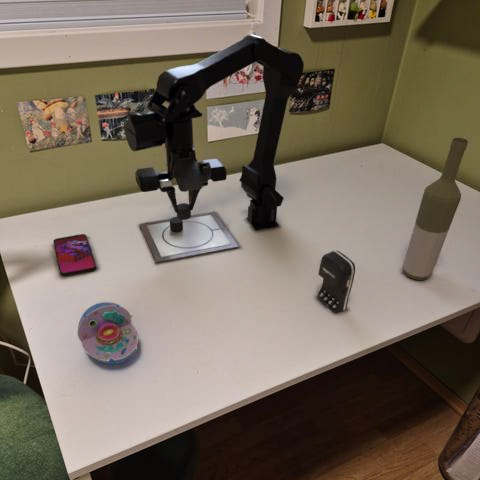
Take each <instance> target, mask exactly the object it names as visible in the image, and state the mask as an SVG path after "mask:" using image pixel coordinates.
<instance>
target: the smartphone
mask: <svg viewBox="0 0 480 480" xmlns="http://www.w3.org/2000/svg"><path fill="white" fill-rule="evenodd" d="M88 239H89V238H88V236H87V234H85V233H81V234H80V233H79V234H74V235H69V236H68V235H67V236H63V237H57V238H55V239H53V247H54V252H55V256H56V259H57V264H58V268H59V274H60V276H62V277H68V276H72V275H77V274H82V273H86V272H87V273H88V272H91V271H92V272H93V271H95V270H96V269H97V265H96V262H95V261H96V260H95V258H94V255H93V251H92V249H91V245H90V242H89V240H88Z"/></svg>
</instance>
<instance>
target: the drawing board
mask: <svg viewBox="0 0 480 480" xmlns="http://www.w3.org/2000/svg"><path fill="white" fill-rule="evenodd" d="M170 219H171V218H167V219H161V220H155V221H149V222H143V223H139V227H140V229H141V231H142V233H143V236H144V238H145V240H146V243H147V245H148V247H149V249H150V251H151V253H152V256H153V259H154V260H155V263H156V264H161V263H166V262H170V261H176V260H181V259H187V258H192V257H197V256H203V255H209V254H214V253H219V252H224V251H230V250H234V249H239V248H240V246H239V245H238V243H237V241H236V240H235V238H234V237H233V236H232V234H231V233H230V232H229V230H228V229H227V227H226V226H225V224H224V223H223V222H222V221H221V219H220V217H219V215H217V213H216V211H211V212H206V213H205V212H204V213H198V214H193V215H192V214H191V218H189V219H187V220H183V230H182V231H181V232H172V231H171V230H170Z"/></svg>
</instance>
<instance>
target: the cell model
mask: <svg viewBox="0 0 480 480" xmlns="http://www.w3.org/2000/svg"><path fill="white" fill-rule="evenodd" d="M132 319H133V314H131V313H130V312H129V310H128V309H127V308H125V307H124V306H122V305H120V304H117V303H115V302H111V301H104V302H103V301H102V302H97V303H95V304H93V305H91V306H89V307H88V308H87V309H86V310H84V312H83V313H82V314H81V316H80V318H79V321H78V325H77V338H78V339H79V341H80V344H81V347H82V349H83V350H84V351H85V353H87V354H88V355H89V356H90V357H91V358H93V359H94V360H97V361H99V362H100V363H104V364H118V363H122V362H124V361H126V360H127V359H129V358H130V357H131V356H132V355H133V354H134V353H135V352H136V351H137V350H138V347H137V346H138V343H139V333H138V330H137V328H136V327H135V325H134V324H132V321H133V320H132Z"/></svg>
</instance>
